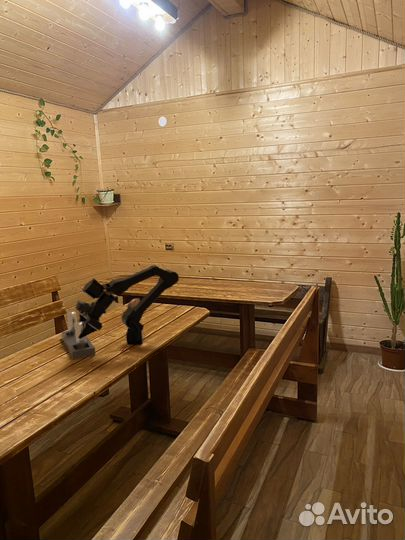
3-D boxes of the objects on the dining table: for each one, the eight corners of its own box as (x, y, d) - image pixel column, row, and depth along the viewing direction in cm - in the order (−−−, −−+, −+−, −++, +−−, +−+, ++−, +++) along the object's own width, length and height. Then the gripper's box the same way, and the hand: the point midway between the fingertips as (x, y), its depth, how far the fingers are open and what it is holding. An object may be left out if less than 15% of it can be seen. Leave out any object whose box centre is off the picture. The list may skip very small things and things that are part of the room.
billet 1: (79, 338, 182) (77, 311, 179) (77, 341, 178) (74, 313, 175) (70, 338, 181) (68, 311, 179) (68, 341, 177) (65, 314, 175)
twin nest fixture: (81, 334, 186) (81, 328, 185) (95, 354, 162) (94, 347, 161) (61, 338, 182) (61, 332, 181) (73, 359, 157) (72, 352, 157)
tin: (132, 318, 208) (131, 303, 207) (127, 318, 209) (126, 303, 207) (142, 310, 223) (141, 296, 221) (137, 310, 223) (136, 296, 222)
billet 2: (88, 350, 166) (85, 321, 164) (85, 354, 162) (83, 324, 160) (78, 351, 166) (75, 321, 163) (76, 354, 162) (73, 325, 159)
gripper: (82, 289, 169) (57, 318, 166) (91, 298, 153) (65, 330, 150) (101, 304, 174) (78, 332, 171) (113, 314, 158) (87, 346, 155)
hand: (76, 334), depth 162 cm, fingers open, 9 cm apart
